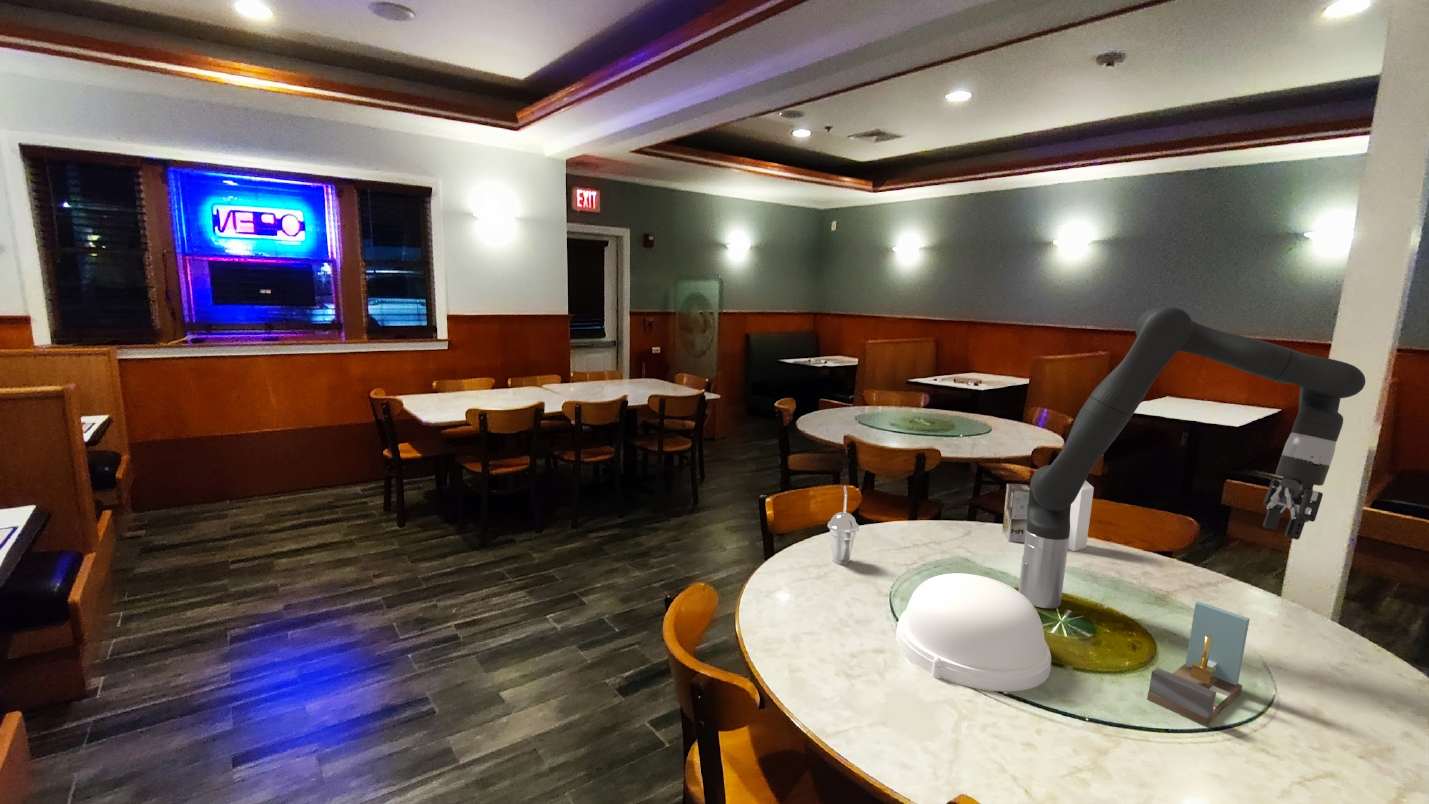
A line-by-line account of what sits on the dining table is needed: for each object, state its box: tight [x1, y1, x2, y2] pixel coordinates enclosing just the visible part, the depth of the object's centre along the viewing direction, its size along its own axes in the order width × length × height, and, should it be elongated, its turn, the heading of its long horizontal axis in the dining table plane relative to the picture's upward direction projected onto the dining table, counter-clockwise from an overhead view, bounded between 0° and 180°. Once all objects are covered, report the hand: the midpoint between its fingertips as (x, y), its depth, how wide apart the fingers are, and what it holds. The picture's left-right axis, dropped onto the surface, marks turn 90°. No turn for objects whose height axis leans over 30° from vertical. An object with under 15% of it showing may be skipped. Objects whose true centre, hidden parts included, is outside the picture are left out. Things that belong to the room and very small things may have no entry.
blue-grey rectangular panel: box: [1185, 601, 1250, 685], centre depth 122 cm, size 4×8×13 cm, turn 35°
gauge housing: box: [1146, 662, 1243, 727], centre depth 119 cm, size 18×9×6 cm, turn 125°
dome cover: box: [895, 572, 1052, 692], centre depth 133 cm, size 32×30×14 cm
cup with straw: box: [826, 485, 860, 565], centre depth 175 cm, size 8×9×20 cm
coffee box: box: [1001, 483, 1030, 544], centre depth 198 cm, size 9×6×16 cm
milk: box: [1068, 479, 1095, 552], centre depth 191 cm, size 6×6×22 cm
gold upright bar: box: [1190, 635, 1215, 684], centre depth 120 cm, size 2×3×8 cm, turn 35°
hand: (1279, 533), depth 133 cm, fingers open, 8 cm apart
